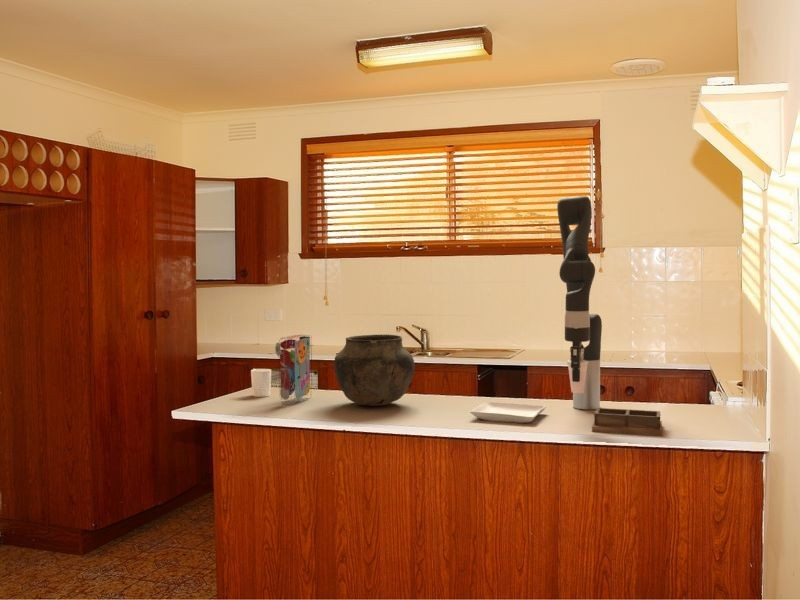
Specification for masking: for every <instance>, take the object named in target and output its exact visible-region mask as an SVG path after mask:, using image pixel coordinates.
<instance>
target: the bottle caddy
mask: <svg viewBox="0 0 800 600" xmlns="http://www.w3.org/2000/svg"><path fill="white" fill-rule="evenodd" d="M593 416H594V421H593V423H592V425H591V432H596V433H609V434H610V433H612V434H626V435H627V434H628V435H641V436H643V435H644V436H655V437H656V436H659V437H662V436H663V422H662V420H661V411H659V410H645V409H643V410H642V409H624V408H622V409H621V408H606V407H600V408H597V409H595V411H594V414H593Z"/></svg>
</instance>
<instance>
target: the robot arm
mask: <svg viewBox="0 0 800 600" xmlns="http://www.w3.org/2000/svg"><path fill="white" fill-rule="evenodd" d="M556 204H557V205H556V206H557V209H556V211H557V218H558V223H559V229H560V237H561V243H562V254H563V255H562V256H563V257H562V258H563V261H562V262H561V265H560V267H559V278H560V280H561V282H563V283H564V284H565V285H566V294H565V313H564V341H566V342H569V343H570V342H571V343H572V346H570V347H569V352H570V357H569V360H571V368H572V381H573V382H579V381H580V368H581V367H580V362H582V360H586V361H588V365H587V370H586V378H585V386H584V393H573V394H572V407H573V409H574V408H575V409H576V410H577V409H578V410H579V409H580V410H596V409H597V408H601V407H600V406H601V349H602V348H601V345H602V330H603V325H602V318H601V316H600V315H599V314H598V313H590V292H591V289H592V285H593V282H594V278H595V274H596V267H595V265H594V263H593V262H592V259H591V257H590V256H589V236H590V232H591V224H592V215H593V211H592V202H591V200H590V198H589V197H588V196H586V195H580V196H578V195H577V196H570V197H563V198H560V199H558V201H557V203H556ZM572 225H573V226H574V225H577V226H576V227H574V229H573V230H571V227H570V226H572ZM584 342H585V343H586V342H589V343H588V344H587V345H586V346H584V344H582V343H584ZM574 362H578V364H574Z"/></svg>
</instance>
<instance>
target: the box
mask: <svg viewBox="0 0 800 600" xmlns="http://www.w3.org/2000/svg"><path fill="white" fill-rule="evenodd" d="M281 340H282V341H281ZM278 341H279V342H276V343H275V347H274V350H275V353H276V355H277V357H279V362H278V367H280V366H283V367H280V371H279V379H280V382H279V396H280V397H279V399H280V402H281V405H285V402H283V401H282V400H284V401H285V400H286V401H287V400H288V402H291V401H292V400H294V402H295V399H297V400H298V399H300V400H298V402H295V403H294V404H292V406H293V405H297V404H300V403H302V402H305V401H307V400H308V399H310V398H308V397H304V396H308V395H309V396H310V395H311V396H310V397H312V393H310V391H311V384H313V377H312V375H313V374H311V370H312V369H313V368H312V363H313V362H312V358H313V356H312V355H313V354H312V348H311V336H310V335H307V334H294V335H290V336H284V337H280V340H278ZM290 349H291V350H290ZM310 359H311V361H310ZM292 363H294V366H293V365H292ZM309 393H310V394H309ZM292 395H293V399H292ZM290 396H291V397H290ZM302 398H304V401H301V399H302ZM289 399H290V400H289ZM299 401H300V402H299ZM286 406H289V403H288V404H287V403H286Z"/></svg>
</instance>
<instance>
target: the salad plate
mask: <svg viewBox="0 0 800 600" xmlns="http://www.w3.org/2000/svg"><path fill="white" fill-rule="evenodd" d="M546 408H547V406H546V405H537V404H526V403H513V402H501V401H500V402H499V401H498V402H497V401H486V402H484V403H481V404H480V405H478V406H476V407H475V408H473V409H471V410H470V411H469V412H470V414H471V415H473V417H475V418H478V419H481V420H484V421H493V422H504V423H506V422H507V423H516V424H524V423H525V424H527V423H531V422H532V421H534V419H535V418H536V417H537V416H538V415H540V414H541V413H543V412H544V411H545V409H546Z"/></svg>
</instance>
